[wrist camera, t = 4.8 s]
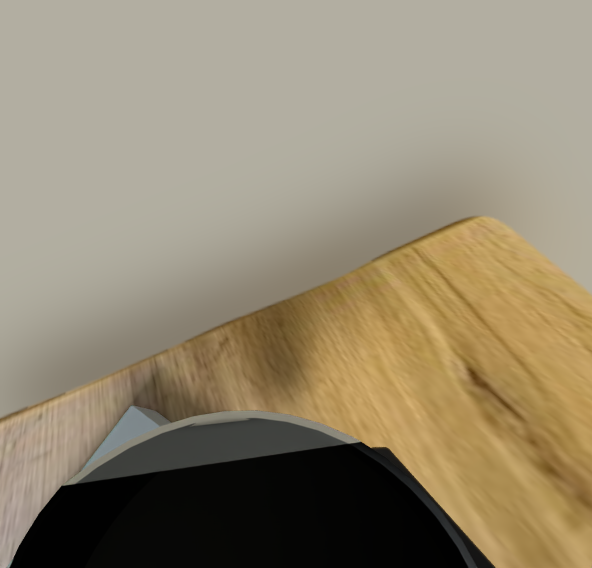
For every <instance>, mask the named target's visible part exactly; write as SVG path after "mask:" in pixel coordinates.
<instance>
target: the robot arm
mask: <svg viewBox="0 0 592 568" xmlns="http://www.w3.org/2000/svg"><path fill="white" fill-rule="evenodd" d="M372 449H373V450H375V451H376V452H378V453H379V454H381V455H383V456H384V457H386V458H387V459H388V460H389V461H390V462H392V463H393V464H394V465H395V466H396V467H398V468H399V469H400V470H401V471H402V472H403V473H405V474H406V475H407V476H408V477H409V478H411V479H412V480H413V481H414V482H415V483H416V484H417V485H418V486H419V487H420V488H421V489H422V491H423V492H424V493H425V494H426V495H427V496H428V497H429V498H430V499H431V500H432V501H433V503H434V504H435V505H436V506H437V507H438V508H439V509H440V510H441V512H442V513H443V514H444V516H445V517H446V519H447V520H448V521H449V523H450V524H451V526H452V527H453V528H454V530H455V531H456V533H457V534H458V535H459V537H460V538H461V540H462V541H463V543H464V545H465V546H466V548H467V550H468V552H469V554H470V556H471V557H472V559H473V561H474V563H475V565H476V566H477V568H495V566H494V565H493V564H492V563H491V562H490V561H489V560H488V559H487V557H486V556H485V555H484V554H483V553H482V552H481V551H480V550H479V549H478V547H477V546H476V545H475V544H474V543H473V542H472V541H471V540H470V539H469V537H468V536H467V535H466V534H465V533H464V532H463V531H462V530H461V529H460V527H459V526H458V525H457V524H456V523H455V522H454V521H453V520H452V518H451V517H450V516H449V515H448V514H447V513H446V512H445V511H444V510H443V508H442V507H441V506H440V505H439V504H438V503H437V502H436V501H435V500H434V498H433V497H432V496H431V495H430V494H429V493H428V492H427V491H426V489H425V488H424V487H423V486H422V485H421V484H420V483H419V482H418V481H417V479H416V478H415V477H414V476H413V475H412V474H411V473H410V472H409V471H408V469H407V468H406V467H405V466H404V465H403V464H402V463H401V462H400V461H399V459H398V458H397V457H396V456H395V455H394V454H393V453H392V452H391V450H390V449H388V448H387V447H372Z"/></svg>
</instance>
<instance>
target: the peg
mask: <svg viewBox="0 0 592 568" xmlns="http://www.w3.org/2000/svg"><path fill="white" fill-rule="evenodd" d="M9 568H477V566H476V565H475V563H474V561H473V559H472V557H471V556H470V554H469V552H468V550H467V548H466V546H465V545H464V543H463V541H462V540H461V538H460V537H459V535H458V534H457V533H456V531H455V530H454V528H453V527H452V526H451V524H450V523H449V521H448V520H447V519H446V517H445V516H444V514H443V513H442V512H441V510H440V509H439V508H438V507H437V506H436V505H435V504H434V503H433V501H432V500H431V499H430V498H429V497H428V496H427V495H426V494H425V493H424V492H423V491H422V489H421V488H420V487H419V486H418V485H417V484H416V483H415V482H414V481H413V480H412V479H411V478H409V477H408V476H407V475H406V474H405V473H403V472H402V471H401V470H400V469H399V468H398V467H396V466H395V465H394V464H393V463H392V462H390V461H389V460H388V459H387V458H386V457H384V456H383V455H381V454H379V453H378V452H376V451H375V450H373V449H372V448H370V447H368V446H367V445H365V444H364V443H362V442H361V441H359V440H357V439H356V438H354V437H352V436H349V435H347V434H345V433H342V432H340V431H338V430H335V429H333V428H331V427H328V426H326V425H324V424H321V423H318V422H314V421H311V420H307V419H303V418H300V417H296V416H293V415H289V414H281V413H273V412H265V411H257V410H256V411H223V412H217V413H210V414H204V415H198V416H193V417H189V418H186V419H183V420H179V421H176V422H173V423H170V424H166V425H163V426H160V427H158V428H156V429H154V430H151V431H149V432H147V433H145V434H142V435H140V436H138V437H136V438H133V439H131V440H129V441H127V442H126V443H124V444H122V445H121V446H119V447H117V448H116V449H114V450H112V451H110V452H109V453H107V454H105V455H104V456H102V457H100V458H99V459H97V460H95V461H94V462H93V463H91V464H90V465H89V466H87V467H86V468H85V469H83V470H82V471H81V472H79V473H78V474H77V475H75V476H74V477H73V478H71V479H70V480H69V481H67V482H66V483H65V484H63V485H62V486H61V487H60V488H59V490H58V491H57V492H56V493H55V495H54V496H53V497H52V498H51V500H50V501H49V502H48V503H47V504H46V506H45V507H44V508H43V509H42V511H41V512H40V513H39V514H38V516H37V518H36V519H35V521H34V523H33V524H32V526H31V527H30V529H29V531H28V532H27V534H26V536H25V537H24V539H23V540H22V542H21V544H20V545H19V547H18V549H17V552H16V554H15V556H14V558H13V560H12V563H11V565H10V567H9Z"/></svg>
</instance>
